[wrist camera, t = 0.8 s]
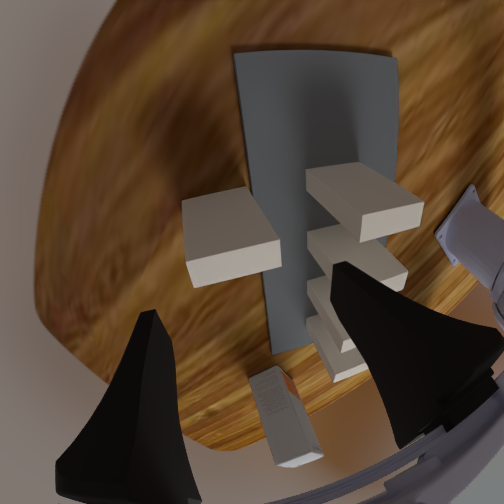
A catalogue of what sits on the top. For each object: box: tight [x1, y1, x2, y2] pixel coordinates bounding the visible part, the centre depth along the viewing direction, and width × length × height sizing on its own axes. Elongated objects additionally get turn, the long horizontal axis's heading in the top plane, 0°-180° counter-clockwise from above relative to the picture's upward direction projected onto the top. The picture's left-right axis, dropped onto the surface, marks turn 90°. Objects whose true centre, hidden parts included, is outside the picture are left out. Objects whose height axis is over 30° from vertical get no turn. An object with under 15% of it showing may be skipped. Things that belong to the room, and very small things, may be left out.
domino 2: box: [305, 162, 424, 243], centre depth 16 cm, size 2×4×7 cm, turn 97°
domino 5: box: [306, 314, 369, 383], centre depth 25 cm, size 2×4×7 cm, turn 97°
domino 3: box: [307, 224, 408, 292], centre depth 19 cm, size 2×4×7 cm, turn 97°
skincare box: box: [249, 365, 324, 468], centre depth 29 cm, size 6×4×12 cm
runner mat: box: [233, 50, 399, 355], centre depth 22 cm, size 28×12×1 cm, turn 7°
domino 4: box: [307, 275, 356, 353], centre depth 22 cm, size 2×4×7 cm, turn 97°
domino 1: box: [182, 186, 282, 288], centre depth 16 cm, size 2×4×7 cm, turn 97°
